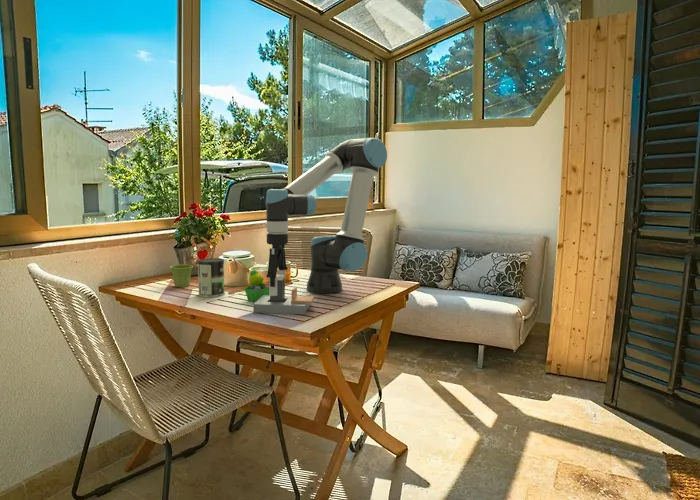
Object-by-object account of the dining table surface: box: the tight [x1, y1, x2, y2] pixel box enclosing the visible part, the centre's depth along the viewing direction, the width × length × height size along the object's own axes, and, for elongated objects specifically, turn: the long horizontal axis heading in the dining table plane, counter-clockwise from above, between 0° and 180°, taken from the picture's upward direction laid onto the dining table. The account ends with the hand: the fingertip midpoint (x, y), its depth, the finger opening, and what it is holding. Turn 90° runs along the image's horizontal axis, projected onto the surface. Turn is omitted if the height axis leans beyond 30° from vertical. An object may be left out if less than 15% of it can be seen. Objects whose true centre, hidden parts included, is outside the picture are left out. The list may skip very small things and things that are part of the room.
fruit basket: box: [243, 269, 269, 303], centre depth 194 cm, size 11×9×11 cm
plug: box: [270, 273, 286, 302], centre depth 180 cm, size 5×5×12 cm
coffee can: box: [196, 257, 226, 298], centre depth 200 cm, size 10×10×14 cm
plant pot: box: [169, 264, 194, 288], centre depth 215 cm, size 9×9×9 cm
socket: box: [253, 295, 312, 315], centre depth 180 cm, size 14×18×3 cm
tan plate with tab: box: [291, 286, 315, 304], centre depth 179 cm, size 7×7×4 cm
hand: (277, 291), depth 180 cm, fingers open, 13 cm apart
